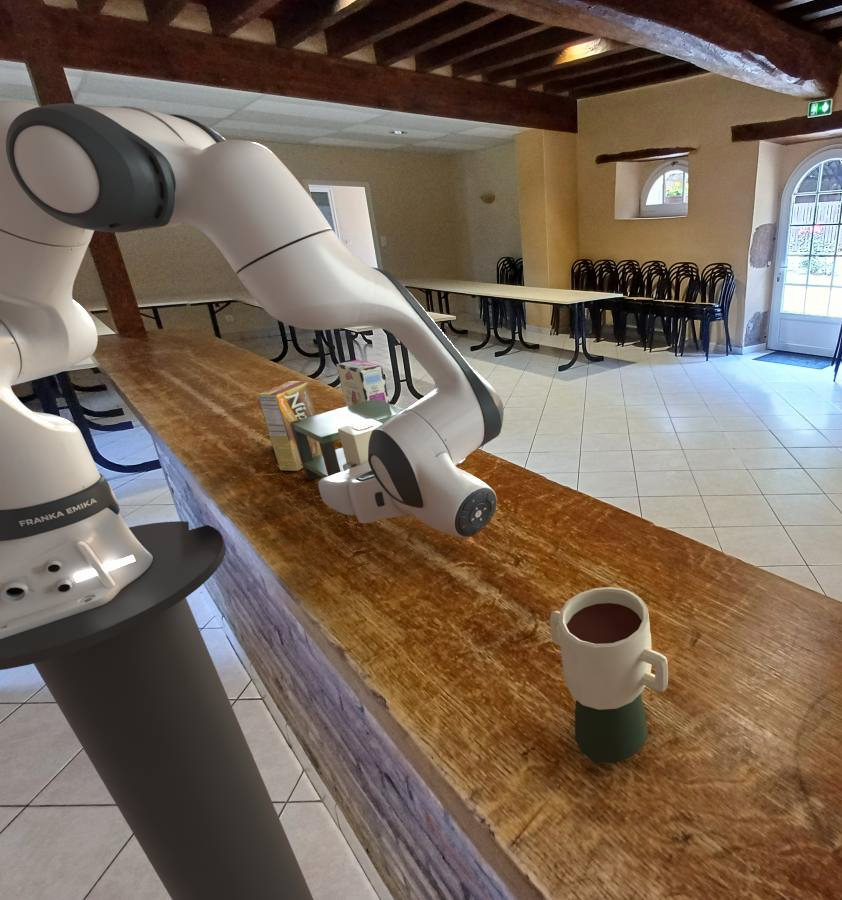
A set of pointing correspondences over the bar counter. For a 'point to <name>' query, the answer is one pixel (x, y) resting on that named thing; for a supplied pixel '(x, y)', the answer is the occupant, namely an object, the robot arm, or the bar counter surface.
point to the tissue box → (357, 440)
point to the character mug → (608, 669)
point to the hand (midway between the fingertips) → (367, 460)
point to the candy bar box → (362, 382)
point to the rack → (334, 434)
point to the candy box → (288, 421)
